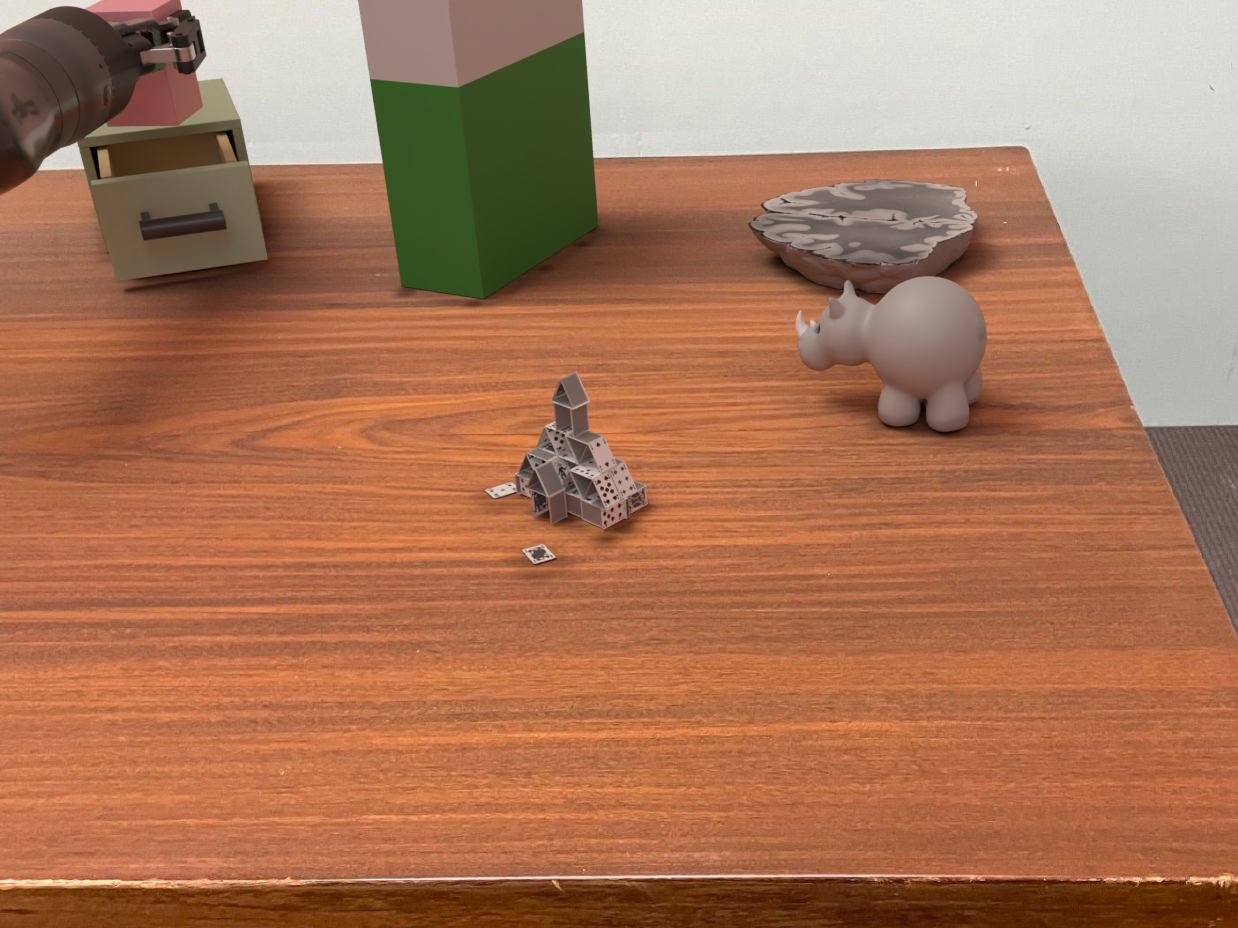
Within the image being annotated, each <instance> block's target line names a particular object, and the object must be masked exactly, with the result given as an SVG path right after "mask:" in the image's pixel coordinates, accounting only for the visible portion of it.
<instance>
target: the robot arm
mask: <svg viewBox="0 0 1238 928" xmlns="http://www.w3.org/2000/svg"><path fill="white" fill-rule="evenodd" d="M136 31H139V32H140V34H138V33H136ZM162 31H164V35H165V40H166V44H164V45H162V41H161V36H160V34H161V32H162ZM207 56H208V55H207V50H206V45H205V41H204V37H203V33H202V27H201V22H200V19H198V18H196V15H192V13H191V10H189V9H182V10H178V11H176V12H175V13H173V14H171V15H170V16H168V17H166V18H164V19H161V20H158V21H156V20H155V19H151V18H137V19H133V20H129V21H126V22H122V23H120V22H107V21H105V20H104V19H103V18H101V17H100V16H98V15H96V14H95V13H93V12H90V11H88V10H86V9H85V8H82V7H79V6H72V5H61V6H55V7H51V8H49V9H46V10H45V11H43V12H41V13H39V14H36V15H34V16H33V17H30V18H28V19H25V20H24V21H22V22H20V23H18V24H16V25H14V26H12V27H10V28H8V29H6V30H4V31H3V32H1V33H0V196H3V195H4V194H7V193H9V192H10V191H12V190H14V189H16V188H17V187H19V186H21V185H22V184H24V183H25V182H27V181H28V180H30V178H32V177H33V176H34V175H35V174H36V173H37V172H38V170H39V169H40V168H41V166H42V164H43V163H44V161H45V159H47V158H48V157H50V156H52V155H53V154H55V153H56V152H57V151H59V150H60V149H63V148H66V147H69V146H72V145H74V144H76V143H77V142H78V141H80V140H81V139H83V138H84V137H86V136H87V135H89V134H90V133H92V132H93V131H95V130H96V129H98V128H99V127H101V126H102V125H104V124H105V123H107V122H108V121H109V120H111V119H112V118H114V117H115V116H117V115H118V114H119V113H121V112H122V111H123V110H124V109H125V107H126V106H127V105H128V103H129V101H130V99H131V97H132V95H133V92H134V88H135V85H136V82H137V81H139V79H140V77H141V76H144V75H148V74H151V73H154V72H157V71H160V70H163V69H165V68H166V66H167V63H170V62H173V65H174V69H176V70H178V73H181V74H185V75H188V74H191V73H193V72H195V71H197V70H198V69H199V67H200V66H201V64H202V63H203V61H204V60H205V59H206V57H207Z"/></svg>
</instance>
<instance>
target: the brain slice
mask: <svg viewBox="0 0 1238 928" xmlns="http://www.w3.org/2000/svg"><path fill="white" fill-rule="evenodd" d="M966 193H967V191H966V189H964V188H962V187H960V186H955V185H950V184H945V183H939V182H938V183H936V182H925V181H913V180H912V181H910V180H901V179H900V180H899V179H880V178H871V179H866V180H864V181H854V182H841V183H840V182H839V183H835V184H830V185H827V186H826V185H825V186H824V185H823V186H814V187H808V188H805V189H801V190H797V191H796V190H795V191H789V192H785V193H782V194H780V195H777V196H776V197H772V198H769V199H766V200H764V201H762V202H761V204H760V206H761V208H762V209H763V210H764V211H765V212H766V213H762V214H760V215H757V216H754V217H753V219H752V221H750V222H748V223H747V226H748V228H749V229H750V231H752V233H753V234H754V236H755V237H756V238H757V240H758V241H759V242H760V243H761V244H762V245H763V246H764V247H766V248H767V249H768V250H769V251H771V252H773V253H775V254H777V255H779V256H780V258H781V260H782V262H783V263H784V264H785V265H786V266H787V267H789V268H791V269H792V270H795V271H798V272H799V273H800V274H801V275H802V276H803V277H805V278H806V279H807V280H810V281H812V282H813V283H815V284H818V285H821V286H825V287H829V288H831V289H832V288H833V289H838V290H839V289H842V290H844V283H845V282H846V280H849V281H850V282H851V283H852V285H853V287H854V290H860V291H861V292H865V293H868V294H887V293H888V292H889V291H890V290H891V289H893V288H894V287H895V286H897V285H898V284H900V283H902V282H904V281H907V280H910V279H913V278H917V277H924V276H933V277H937V276H938V275H940V274H941V273H942V272H944V271H945V270H947V268H949V266H950V265H951V264H953V263H954V262H955V261H957V260H958V259H960V258H961V257H962V256H963V255H964V253H965V252H966V251H967V250H968V248H969V246H970V242H971V240H972V237H973V234H974V231H975V228H976V225H977V222H978V218H979V214H977V212H976V211H974V210H973V209H972V208H971V207H970V206H969V205H968V204H967V201H968V195H967V194H966Z"/></svg>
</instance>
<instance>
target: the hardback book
mask: <svg viewBox="0 0 1238 928" xmlns="http://www.w3.org/2000/svg"><path fill="white" fill-rule="evenodd" d="M357 3H358V11H359V17H360V22H361V30H362V36H363V44H364V50H365V56H366V63H367V69H368V75H369V82H370V89H371V95H372V102H373V109H374V116H375V121H376V122H375V123H376V129H377V134H378V141H379V148H380V155H381V160H382V167H383V175H384V181H385V182H384V183H385V187H386V194H387V200H388V208H389V215H390V220H391V228H392V234H393V241H394V247H395V253H396V260H397V266H398V272H399V280H400V286H401V287H404V288H412V289H418V290H424V291H430V292H438V293H443V294H450V295H455V296H456V295H457V296H463V297H469V298H476V299H481V300H484V299H486V298H487V297H489V296H490V295H493V294H494V293H495V292H497V291H498V290H500V289H501V288H503V287H504V286H506V285H508V284H509V283H511V282H513V281H514V280H516V279H517V278H519V277H520V276H522V275H523V274H525V273H527V272H528V271H531V269H533V268H534V267H537V266H538V265H539V264H541V263H543V262H544V261H545V260H547V259H548V258H550V257H551V256H553V255H555V254H556V253H557V252H559V251H561V250H562V249H564V248H567V247H568V246H569V245H570V244H572V243H574V242H576V240H578V239H580V238H582V237H583V236H585V235H586V234H587V233H589V232H591V231H592V230H594V229H595V228H597V227H598V226H599V215H598V199H597V186H596V173H595V158H594V147H593V146H594V145H593V144H594V143H593V131H592V129H593V128H592V117H591V104H590V90H589V89H590V88H589V76H588V75H589V74H588V61H587V48H586V47H587V46H586V35H585V34H586V33H585V19H584V10H583V9H584V7H583V5H584V4H583V0H357Z"/></svg>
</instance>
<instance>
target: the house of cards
mask: <svg viewBox="0 0 1238 928" xmlns="http://www.w3.org/2000/svg"><path fill="white" fill-rule="evenodd" d="M550 402H551V403H552V409H553V419H554V421H552V422H550V423H548V424H546V425H544V427H543V429H542V431H541V434H540V437H539V439H538V441H537V443H536V445H535V448H533V449H531V450H528V451H527V452H525V453H524V454H525V455H524V458H523V460H522V463H521V465H520V467H519V470H518V471H517V472H515V473H514V482H515V483H514V482H512V481H509V482H505V483H503V484H500V485H497V486H493V487H490V488H487V489H484V491H485V492H486V493H487V494H488V495H489V496H490V497H492V498H493V499H497V498H501V497H505V496H507V495H510V494H514V493H516V496H519V495H522V496H526V497H528V498H530V503H531V510H532V511H531V512H532V518H533V519H534V518H536V517H538V516H540V515H542V514H543V513H546V512H548V511H549V519H550V521H549V522H550V526H552V525H554V524H556V523H558V522H560V521H562V520H563V519H565V518H568V513H569V514H571V515H573V516H576V517H578V518H581V520H582V521H585V522H587V523H589V524H592V525H593V526H596V527H598V528H600V529H601V531H604V530H606V529H608V528H609V527H612V526H613V525H616V524H618V522H620V521H622V520H628V518H631V514H633V513H634V512H636V511H639V510H640V509H642V508H644V507H646V506H647V505H648V504H649V502H648V500H649V499H648V484H647V483H646V484H644V483H642V482H640V481H637V480H635V479H633V476H632V474H631V472H630V470H629V467H628V466H627V463H626V460H623V459H620V458H618V457H614V454H613V452H612V449H611V448H610V445H609V443H608V441H607V439H606V435H602V434H599V433H596V432H593V431H592V430H590V421H589V420H590V419H589V409H588V408H589V407H588V404H589V403H591V400H590V398H589V395H588V393H587V391H586V389H585V386H584V385H583V382H582V380H581V378H580V376H579V373H578V370H576V371H574V372H571V373H569V374H567V375H565V376H562V377H560V378H559V380H558V383H557V385H556V388H555V390H554V393H553V395H552V398H551V400H550ZM521 551H522V552H523V554H525V556H526V557H527V558H528V559H529V560H530V561H531V563H533V565H535V564H536V565H537V564H539V563H542V562H546V561H550V560H553V559H556V558H557V556H555V554H554V553H553V552H552V551H550V549H549V548H548V547H547V546H546V545H545V544H544V543H541V544H538V545H534V546H530V547H527V548H523V549H521Z"/></svg>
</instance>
